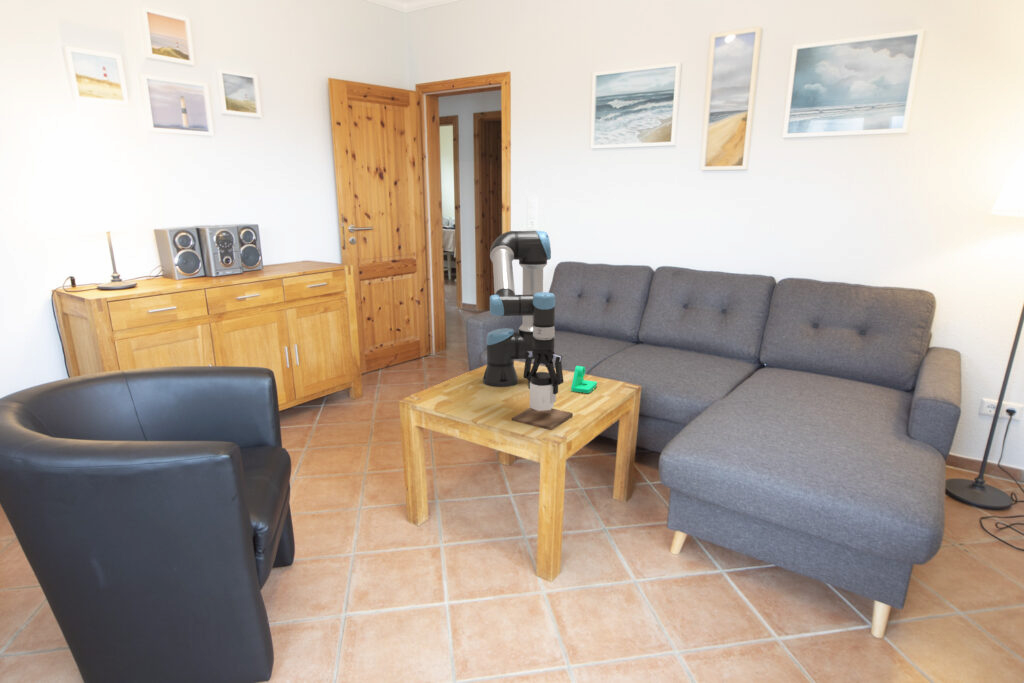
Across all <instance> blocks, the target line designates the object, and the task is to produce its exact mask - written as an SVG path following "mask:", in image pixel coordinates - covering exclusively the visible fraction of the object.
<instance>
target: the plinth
mask: <svg viewBox="0 0 1024 683" xmlns="http://www.w3.org/2000/svg"><path fill="white" fill-rule="evenodd" d="M573 414H574V413H573V412H569V411H565V410H560V409H556V408H552V409H551V410H546V411H537V410H534V409H532V408H530V407H529V408H526V409H525V410H523V411H521V412H520V413H518V414H516V415H514V416H512V417H511V421H514V422H516V423H517V422H518V423H520V424H521V423H522V424H526V425H530V426H534V427H538V428H541V429H545V430H549V431H553V430H554V429H556V428H557V427H559V426H560V425H562V424H563V423H565V422H567V421H568V420H570V419H571V418H573V417H574V415H573Z"/></svg>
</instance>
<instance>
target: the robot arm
mask: <svg viewBox="0 0 1024 683" xmlns="http://www.w3.org/2000/svg"><path fill="white" fill-rule="evenodd" d="M551 258H552V250H551V241H550V237H549V234H548V233H547V231H545V230H543V231H542V230H510V231H506V232H504V233H502V234H500V235H499V236H498V237H497V238H496V239H495V240H494V241H493V243H492V245H491V247H490V250H489V259H490V261H491V262H492V267H493V268H492V271H493V274H492V275H493V290H494V291H493V292H494V294H491V295H490V296H489V314H490V315H491V316H494V317H496V316H497V317H512V316H513V317H514V316H515V317H516V316H517V317H519V316H522V324H521V325H520V326H519V327H518V331H515V330H514V329H513V328H511V327H506V328H497V329H494V330H493V329H492V330H491V331H489V332H487V335H486V367H485V370H484V374H483V377H482V382H483V384H484V385H486V386H488V387H494V388H509V387H513V386H516V385H517V384H518V383H519V377H518V375H517V371H516V368H515V365H514V364H515V363H514V362H515V360H525V363H524V369H523V376H522V377H523V379H526V380H527V382H528V384H527V386H528V387H527V388H528V390H530V383H531V374H532V375H533V374H535V373H536V372H538V369H539V366H540V365H541V364H542V365H545V367H546V369H547V371H548V372H547V373H549V375H550V378H551V381H552V385H551V387H550V403H555V402H556V401H557V394H558V393H559V385H561V384H563V383H564V375H563V374H564V373H563V366H562V365H563V364H562V360H563V355H557V354H555V332H556V330H555V326H556V325H555V320H556V318H555V316H556V295H555V294H554V293H551V292H547V291H545V292H544V268H545V267H546V266H547V265H548V261H549V260H551ZM514 260H515V261H518V264H519V266H520V267H521V268H522V294H516V292H515V280H514V279H515V278H514V269H513V261H514ZM533 360H534V361H533ZM532 361H533V362H532ZM532 363H533V365H532Z"/></svg>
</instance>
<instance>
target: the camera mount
mask: <svg viewBox="0 0 1024 683" xmlns="http://www.w3.org/2000/svg"><path fill="white" fill-rule="evenodd" d="M585 376H586V367H585V366H581V365H576V366H575V368H574V372H573V377H572V382H571V387H570V391H571V392H575V393H582V392H583V394H590V393H592V392H593V391H594V390H593V388H595V389H596V387H597V386H598V381H595V380H586V379H585V378H584V377H585ZM596 385H597V386H596ZM592 390H593V391H592ZM591 391H592V392H591Z"/></svg>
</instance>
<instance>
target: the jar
mask: <svg viewBox="0 0 1024 683" xmlns="http://www.w3.org/2000/svg"><path fill="white" fill-rule="evenodd" d="M551 385H552V381H551V378H550V375H549V372H546V371H537V372H536V373H535V374H533V375H532V374H531V383H530V389H529V408H532V409H534V410H537V411H546V410H551V409H553V407H554V405H555V404H554V403H555V402H554V403H550V387H551Z"/></svg>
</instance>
